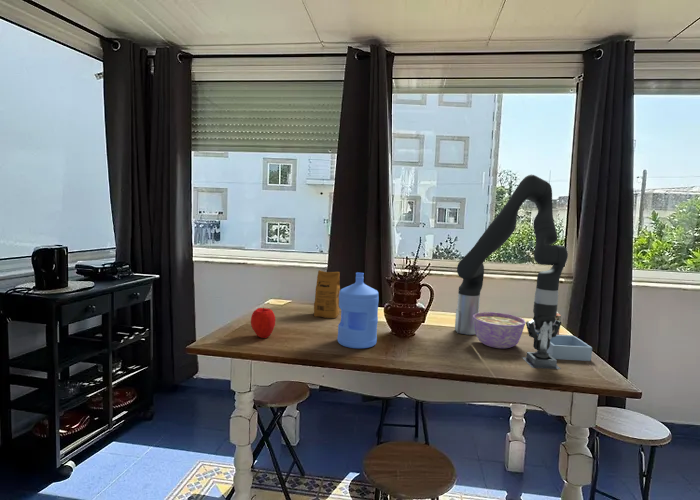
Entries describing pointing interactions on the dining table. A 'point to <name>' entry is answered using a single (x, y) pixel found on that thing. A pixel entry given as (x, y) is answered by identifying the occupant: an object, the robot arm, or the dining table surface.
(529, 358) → the socket block
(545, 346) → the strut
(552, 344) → the bin
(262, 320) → the apple
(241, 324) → the dining table surface
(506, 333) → the bowl of food
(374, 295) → the water jug
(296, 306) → the dining table surface
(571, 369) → the dining table surface
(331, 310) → the coffee package
